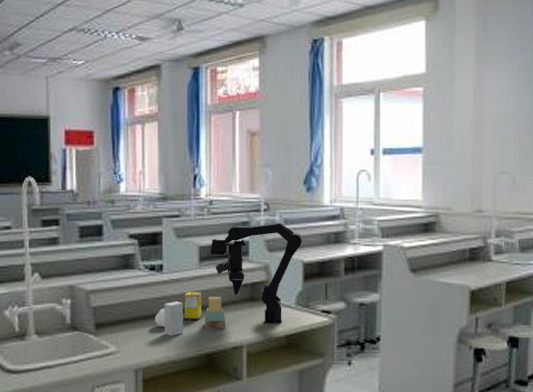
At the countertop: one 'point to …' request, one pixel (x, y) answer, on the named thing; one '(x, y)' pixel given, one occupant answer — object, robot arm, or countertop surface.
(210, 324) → the tower base
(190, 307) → the supplement box
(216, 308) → the ochre block
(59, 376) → the countertop surface
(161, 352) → the countertop surface
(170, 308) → the skincare box
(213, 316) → the tower top
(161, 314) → the motion sensor
